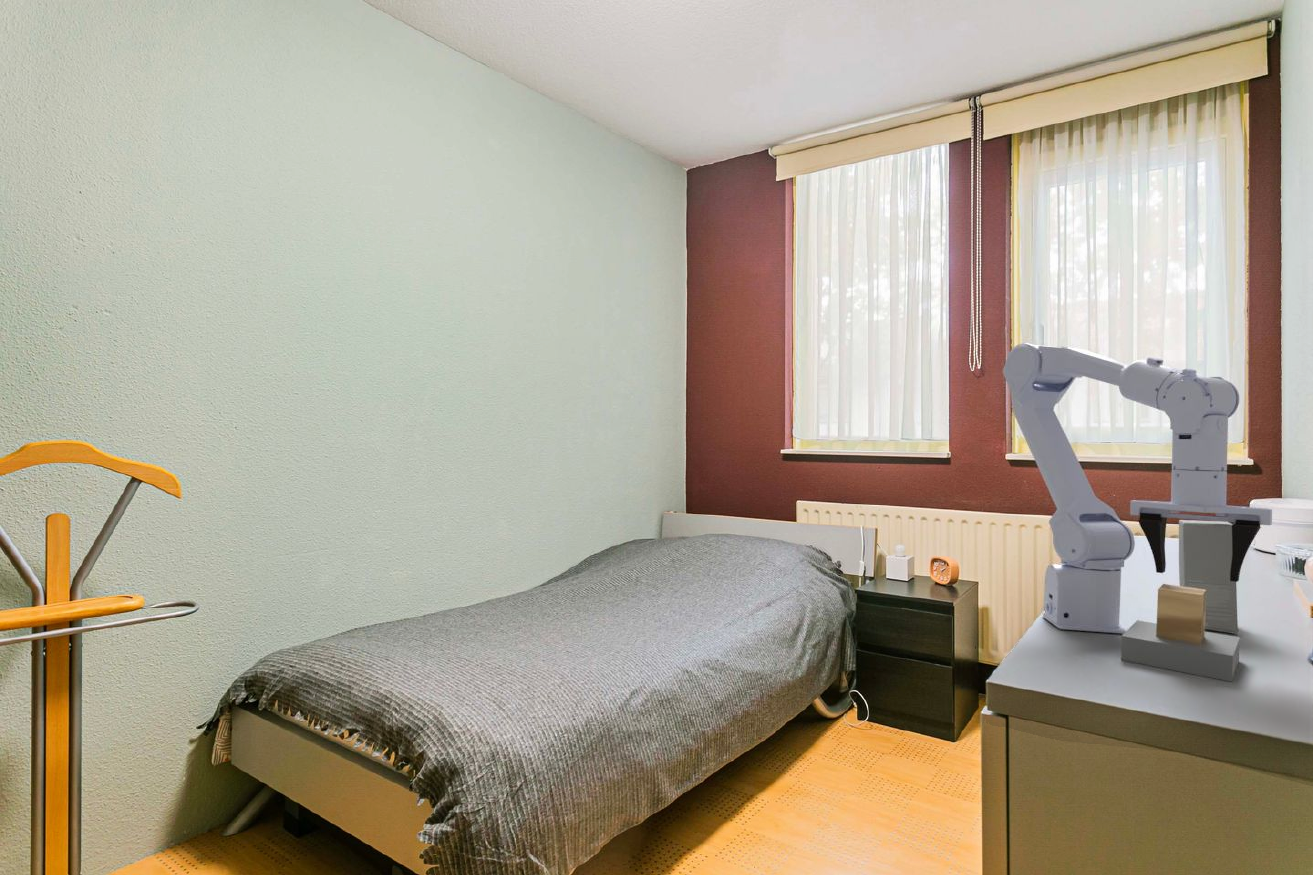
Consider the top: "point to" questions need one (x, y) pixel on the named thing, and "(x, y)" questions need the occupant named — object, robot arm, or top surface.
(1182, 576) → the skincare box
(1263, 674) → the top surface
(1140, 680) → the top surface
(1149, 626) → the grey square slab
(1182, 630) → the oak block
